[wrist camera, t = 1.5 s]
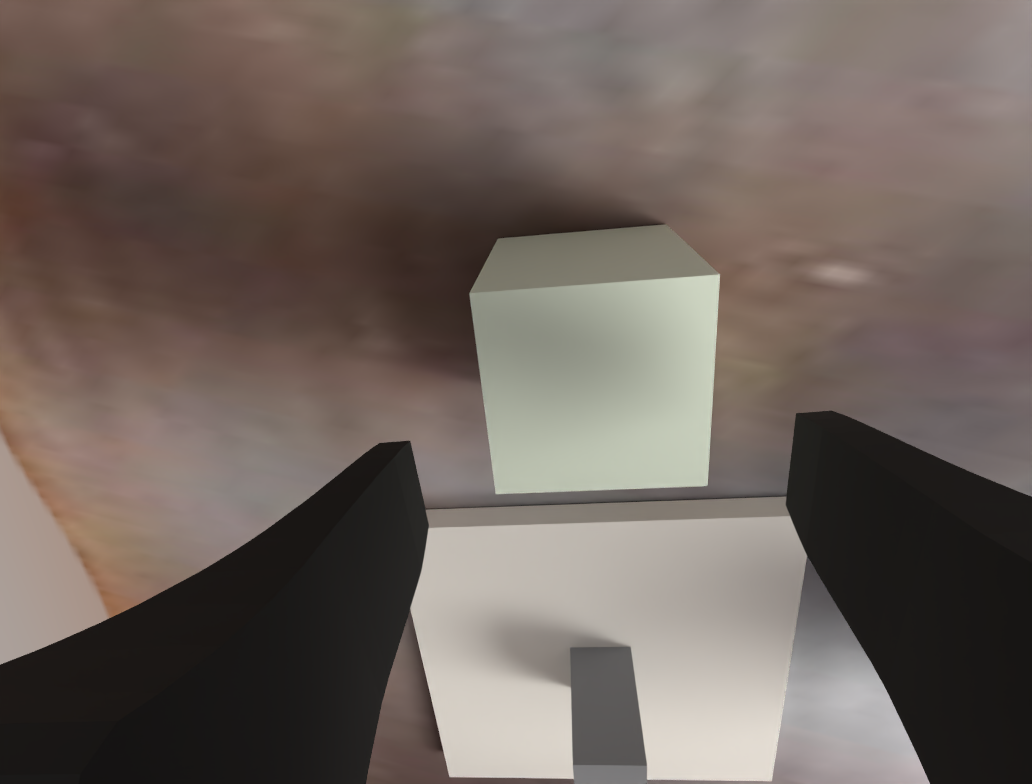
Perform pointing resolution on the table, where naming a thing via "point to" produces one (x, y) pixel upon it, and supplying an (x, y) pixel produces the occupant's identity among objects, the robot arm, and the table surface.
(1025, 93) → the table surface
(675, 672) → the post board
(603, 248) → the pale green block
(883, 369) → the table surface
